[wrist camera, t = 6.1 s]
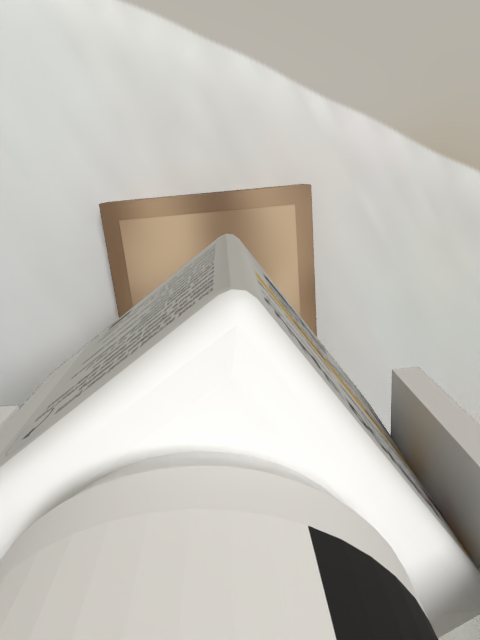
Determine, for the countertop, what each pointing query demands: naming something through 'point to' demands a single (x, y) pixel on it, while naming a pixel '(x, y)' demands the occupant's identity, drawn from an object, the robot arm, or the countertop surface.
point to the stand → (212, 239)
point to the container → (217, 485)
